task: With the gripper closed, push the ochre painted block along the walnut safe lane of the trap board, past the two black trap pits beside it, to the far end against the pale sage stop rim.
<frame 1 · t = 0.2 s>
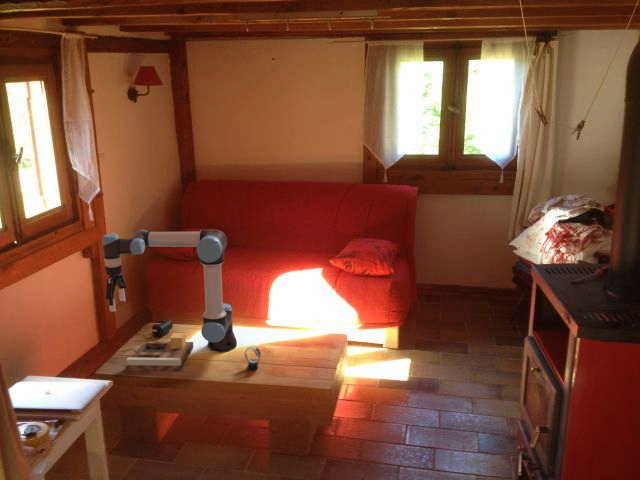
hand: (117, 305, 294), 28 cm above the table, fingers open, 13 cm apart
trap board: (161, 358, 299), on the table
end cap: (163, 334, 328), on the table
watch: (253, 368, 289), on the table
block: (178, 346, 306), point 3 cm above the table, touching trap board
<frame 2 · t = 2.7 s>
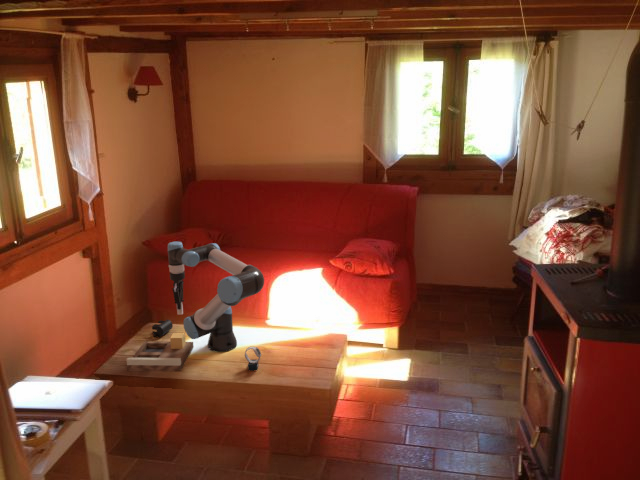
hand: (180, 314, 310), 17 cm above the table, fingers closed
nothing on the table moved.
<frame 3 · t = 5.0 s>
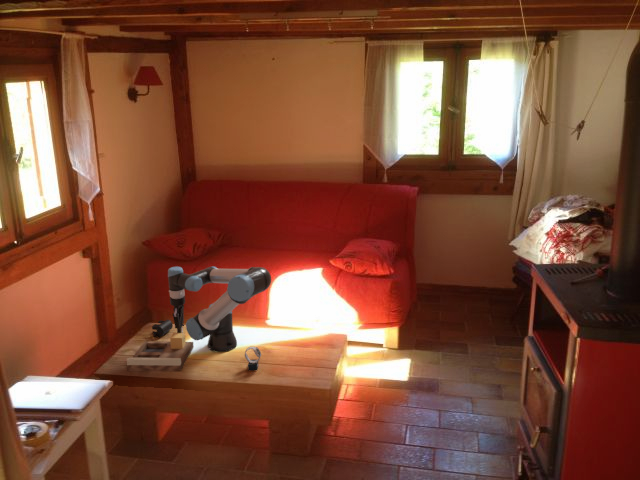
hand: (180, 338, 310), 5 cm above the table, fingers closed
block: (178, 346, 306), point 3 cm above the table, touching gripper, trap board
everything else where it was.
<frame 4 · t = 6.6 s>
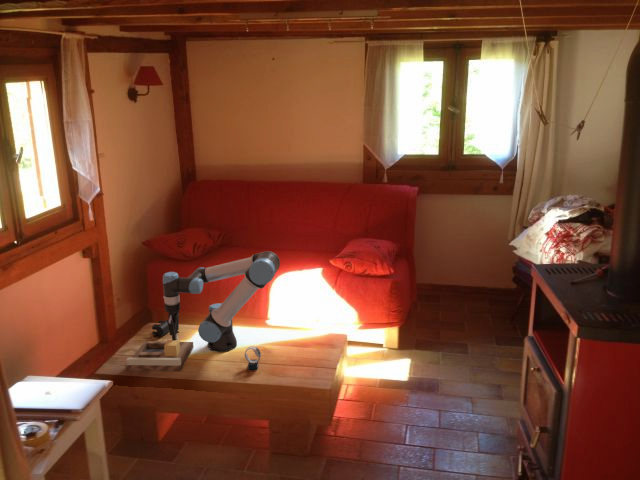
hand: (175, 345, 302), 5 cm above the table, fingers closed
block: (172, 353, 298), point 3 cm above the table, touching gripper, trap board
everything else where it was.
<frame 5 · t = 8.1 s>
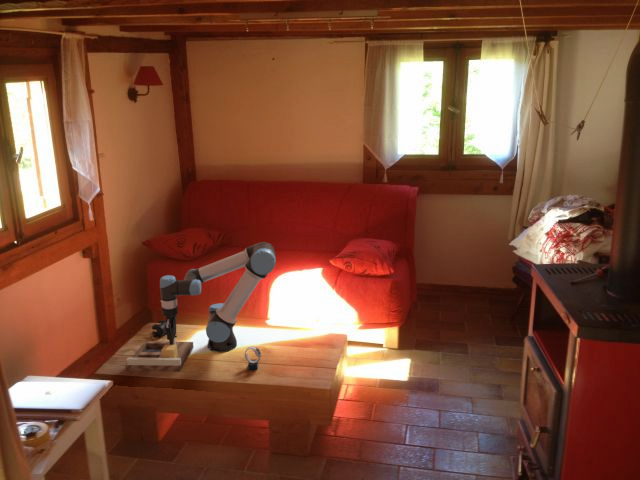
hand: (173, 350, 297), 5 cm above the table, fingers closed
block: (170, 358, 293), point 3 cm above the table, touching gripper, trap board
everything else where it was.
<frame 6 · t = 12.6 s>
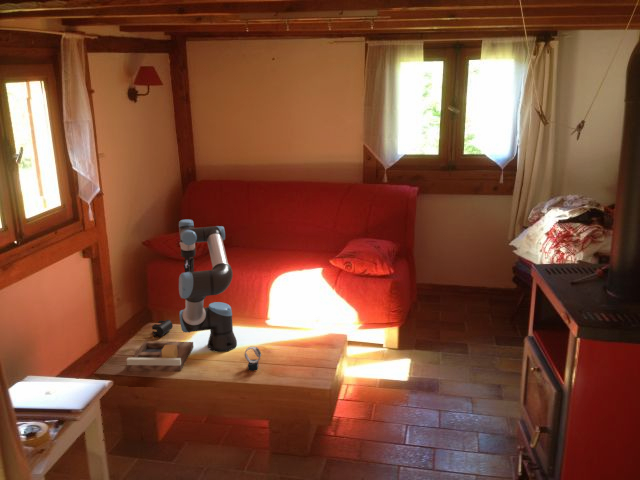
hand: (191, 290, 318), 26 cm above the table, fingers closed
block: (170, 358, 293), point 3 cm above the table, touching trap board
everything else where it was.
at the end: block inside the target area on the trap board (0.6 cm from its centre), point 3.0 cm above the trap board's base; block tilted 0°; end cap moved 0.3 cm from its start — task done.
